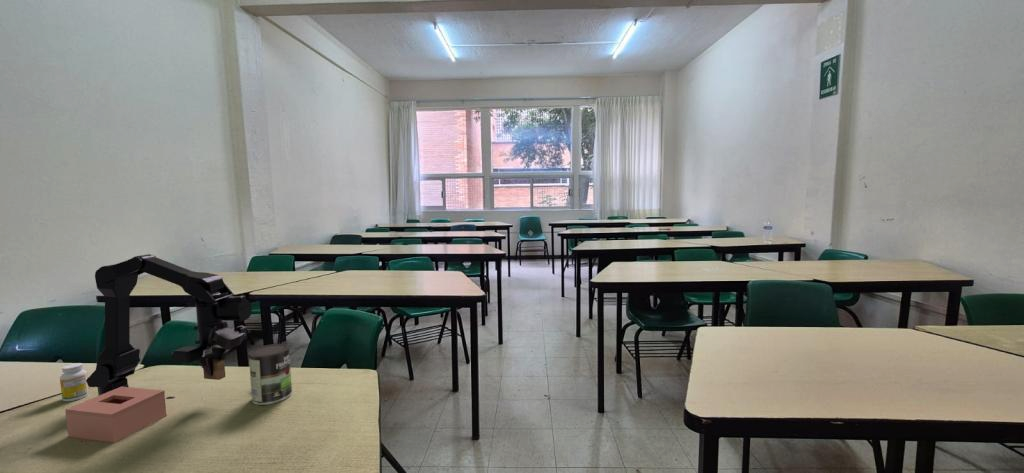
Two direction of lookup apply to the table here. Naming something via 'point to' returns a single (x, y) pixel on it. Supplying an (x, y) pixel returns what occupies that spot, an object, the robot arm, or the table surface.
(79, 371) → the supplement bottle
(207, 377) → the block
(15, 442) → the table surface
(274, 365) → the coffee can
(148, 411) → the coin box
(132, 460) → the table surface
